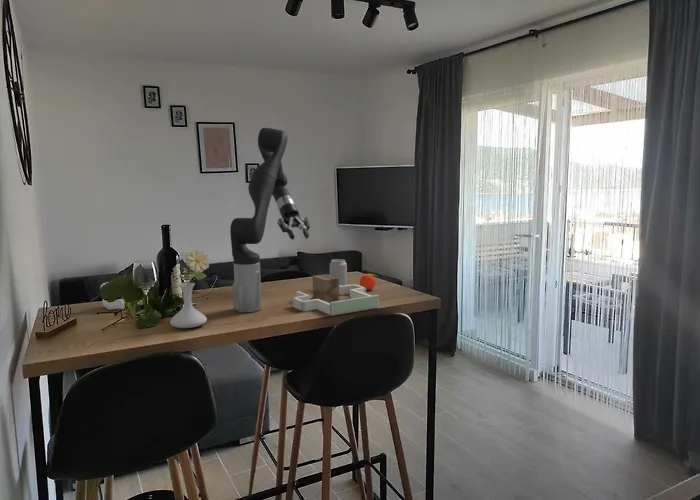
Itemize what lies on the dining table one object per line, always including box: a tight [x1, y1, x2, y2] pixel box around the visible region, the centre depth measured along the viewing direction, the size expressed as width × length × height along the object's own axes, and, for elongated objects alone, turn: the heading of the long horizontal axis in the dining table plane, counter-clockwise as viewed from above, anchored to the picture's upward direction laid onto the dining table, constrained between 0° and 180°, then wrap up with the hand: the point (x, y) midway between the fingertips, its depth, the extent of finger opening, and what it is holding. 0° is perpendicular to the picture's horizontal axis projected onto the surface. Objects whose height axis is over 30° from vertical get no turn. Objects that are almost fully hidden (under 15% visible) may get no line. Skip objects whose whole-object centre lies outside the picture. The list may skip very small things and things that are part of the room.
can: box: [329, 258, 348, 286], centre depth 219 cm, size 8×8×12 cm
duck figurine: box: [100, 281, 126, 311], centre depth 184 cm, size 12×8×11 cm
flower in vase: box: [169, 248, 211, 329], centre depth 161 cm, size 13×11×25 cm
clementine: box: [359, 273, 379, 291], centre depth 213 cm, size 8×7×7 cm
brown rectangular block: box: [312, 274, 340, 303], centre depth 197 cm, size 6×10×9 cm, turn 33°
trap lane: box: [291, 283, 380, 316], centre depth 190 cm, size 32×27×4 cm
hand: (300, 237), depth 211 cm, fingers open, 6 cm apart
